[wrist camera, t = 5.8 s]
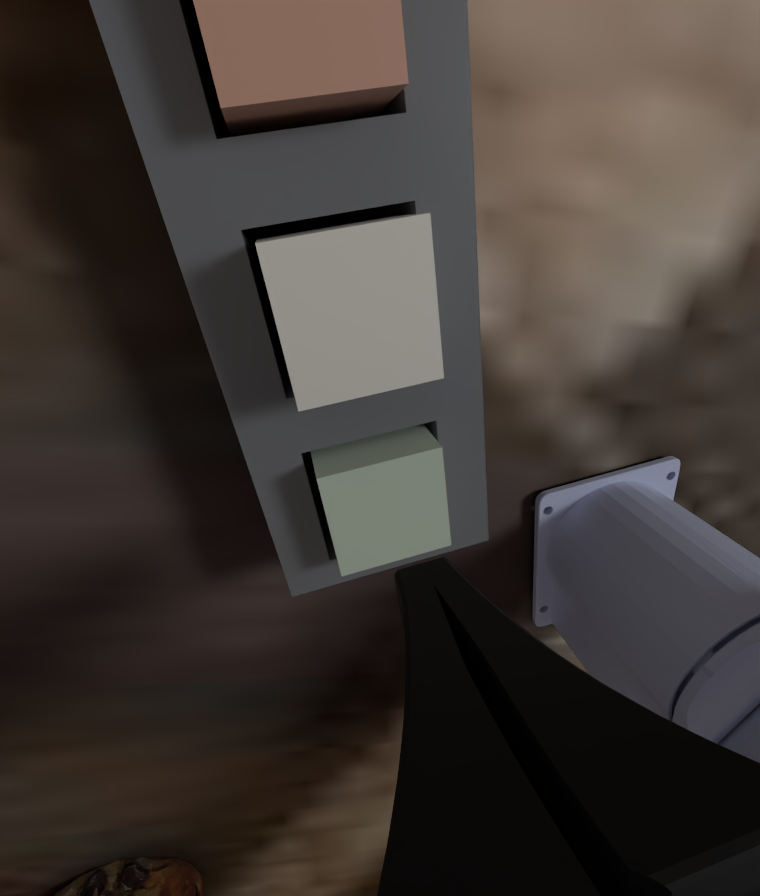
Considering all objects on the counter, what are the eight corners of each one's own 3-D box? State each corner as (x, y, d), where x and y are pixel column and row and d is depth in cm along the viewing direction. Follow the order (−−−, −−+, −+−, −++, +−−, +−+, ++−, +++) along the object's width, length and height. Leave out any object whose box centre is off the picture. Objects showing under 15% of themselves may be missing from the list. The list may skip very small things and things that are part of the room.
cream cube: (407, 347, 15) (444, 378, 12) (290, 372, 14) (298, 411, 11) (391, 216, 13) (430, 213, 10) (256, 239, 13) (254, 243, 10)
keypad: (455, 494, 21) (488, 540, 18) (287, 539, 20) (292, 596, 17) (403, -143, 11) (456, -279, 8) (75, -124, 10) (-5, -274, 7)
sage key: (420, 493, 19) (451, 544, 16) (328, 518, 18) (341, 576, 15) (409, 407, 17) (442, 447, 14) (306, 431, 16) (316, 479, 13)
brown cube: (372, 118, 13) (408, 83, 10) (231, 138, 12) (220, 107, 9) (347, -84, 11) (381, -210, 8) (177, -72, 10) (141, -201, 7)
